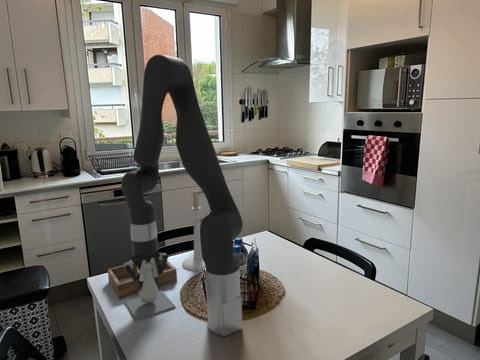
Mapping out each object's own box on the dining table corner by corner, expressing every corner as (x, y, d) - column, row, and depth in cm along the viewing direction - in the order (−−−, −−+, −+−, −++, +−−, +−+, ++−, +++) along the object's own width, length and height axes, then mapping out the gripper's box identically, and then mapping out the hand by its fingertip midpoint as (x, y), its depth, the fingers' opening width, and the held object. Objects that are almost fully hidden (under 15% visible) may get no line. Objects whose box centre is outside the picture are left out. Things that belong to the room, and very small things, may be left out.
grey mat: (175, 307, 106) (175, 306, 106) (136, 321, 100) (136, 319, 100) (161, 291, 116) (161, 289, 116) (124, 302, 110) (124, 301, 110)
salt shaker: (139, 306, 104) (135, 265, 101) (139, 296, 109) (136, 258, 107) (159, 303, 106) (156, 263, 103) (158, 293, 111) (155, 255, 108)
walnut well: (177, 282, 122) (176, 268, 121) (119, 299, 112) (117, 285, 111) (162, 267, 134) (161, 255, 133) (108, 282, 123) (107, 269, 122)
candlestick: (196, 274, 128) (192, 195, 122) (175, 264, 136) (171, 190, 130) (221, 263, 137) (219, 188, 131) (200, 254, 145) (197, 184, 140)
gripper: (123, 245, 97) (129, 301, 100) (171, 234, 104) (174, 287, 107) (116, 237, 103) (122, 290, 106) (162, 227, 110) (165, 278, 114)
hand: (148, 288), depth 107 cm, fingers closed on salt shaker, 3 cm apart
